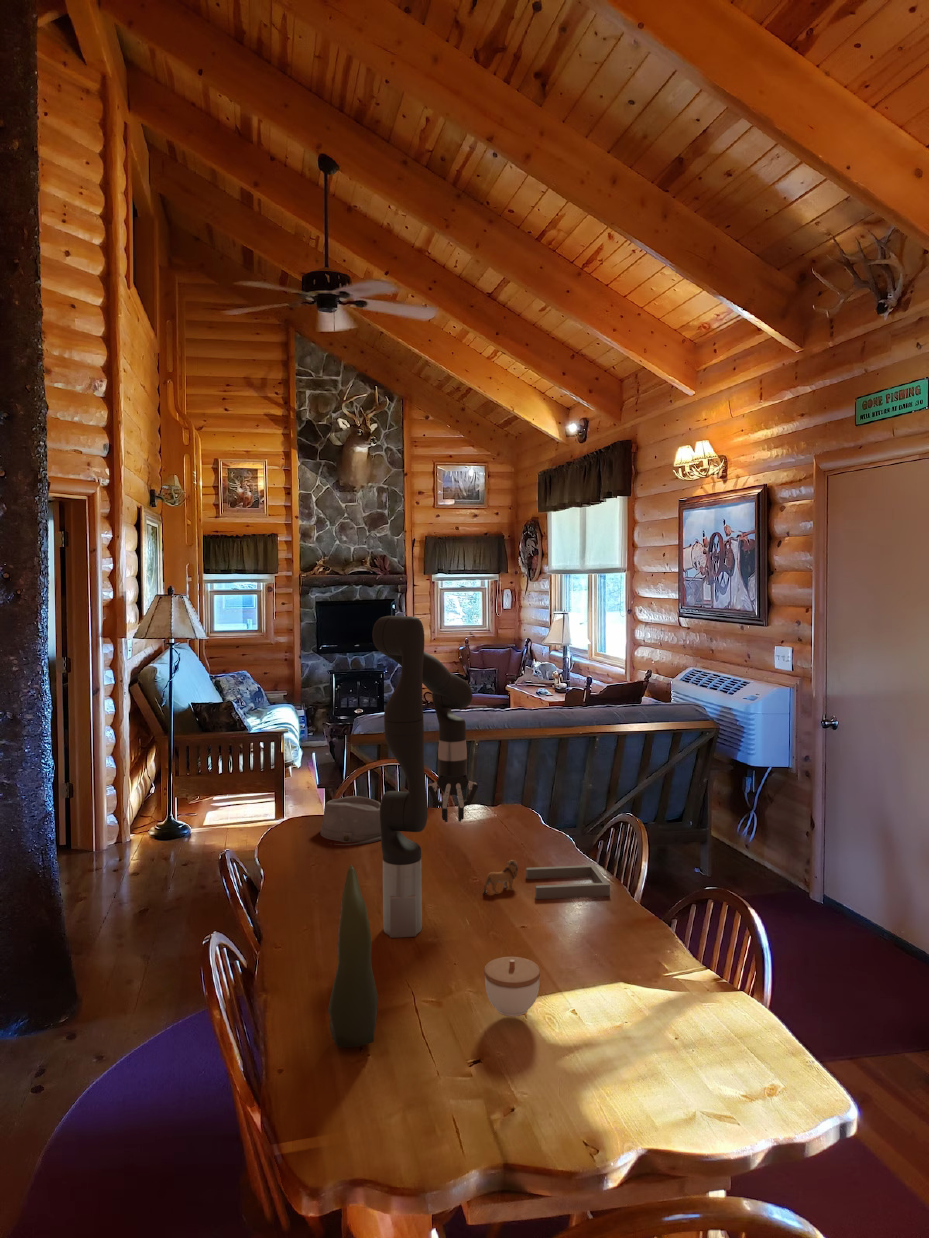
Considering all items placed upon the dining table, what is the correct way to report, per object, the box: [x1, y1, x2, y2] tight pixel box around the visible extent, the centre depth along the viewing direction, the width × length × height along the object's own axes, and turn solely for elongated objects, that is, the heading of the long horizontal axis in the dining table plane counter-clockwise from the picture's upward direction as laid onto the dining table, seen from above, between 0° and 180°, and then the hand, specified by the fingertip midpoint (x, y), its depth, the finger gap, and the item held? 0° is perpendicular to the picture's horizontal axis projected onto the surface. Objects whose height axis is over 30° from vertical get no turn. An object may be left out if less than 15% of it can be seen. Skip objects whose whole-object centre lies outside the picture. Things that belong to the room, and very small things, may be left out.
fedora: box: [319, 795, 381, 846], centre depth 262 cm, size 24×27×12 cm
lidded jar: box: [483, 956, 541, 1018], centre depth 155 cm, size 11×11×9 cm
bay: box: [525, 864, 611, 900], centre depth 217 cm, size 15×20×3 cm
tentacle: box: [327, 864, 379, 1048], centre depth 145 cm, size 9×12×30 cm
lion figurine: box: [482, 859, 519, 895], centre depth 215 cm, size 12×4×7 cm, turn 129°
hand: (452, 820), depth 213 cm, fingers open, 3 cm apart
